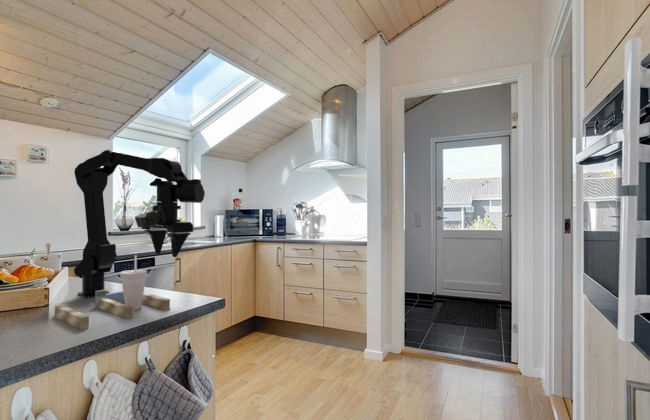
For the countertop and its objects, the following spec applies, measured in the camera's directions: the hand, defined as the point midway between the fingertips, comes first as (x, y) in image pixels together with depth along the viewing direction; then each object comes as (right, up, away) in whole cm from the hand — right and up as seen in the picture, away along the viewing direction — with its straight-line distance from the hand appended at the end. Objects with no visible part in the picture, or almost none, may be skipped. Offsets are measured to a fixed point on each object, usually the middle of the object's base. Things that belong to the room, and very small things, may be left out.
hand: (166, 255), depth 107 cm
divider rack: (-7, -13, -15) cm, 21 cm away
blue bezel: (-11, -13, -6) cm, 17 cm away
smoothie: (-4, -13, -11) cm, 17 cm away
